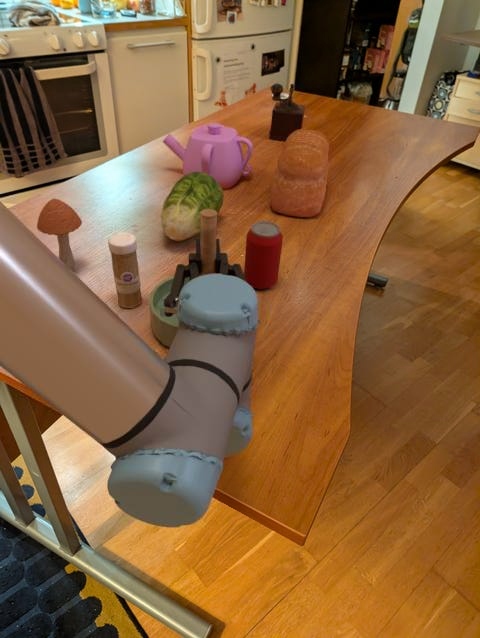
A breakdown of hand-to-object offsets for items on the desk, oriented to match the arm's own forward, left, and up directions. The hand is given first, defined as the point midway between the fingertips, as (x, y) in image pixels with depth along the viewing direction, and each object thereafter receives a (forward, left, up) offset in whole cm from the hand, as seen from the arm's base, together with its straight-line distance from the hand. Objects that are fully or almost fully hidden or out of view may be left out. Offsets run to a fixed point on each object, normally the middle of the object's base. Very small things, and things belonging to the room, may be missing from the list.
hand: (207, 245), depth 77 cm
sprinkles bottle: (-14, +2, -13) cm, 19 cm away
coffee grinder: (+29, +91, -13) cm, 96 cm away
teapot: (+2, +59, -13) cm, 60 cm away
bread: (+26, +47, -13) cm, 55 cm away
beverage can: (+11, +8, -13) cm, 19 cm away
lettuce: (-3, +28, -13) cm, 31 cm away
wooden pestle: (0, -5, -11) cm, 12 cm away
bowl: (-2, -5, -13) cm, 14 cm away
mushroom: (-27, +13, -13) cm, 33 cm away
